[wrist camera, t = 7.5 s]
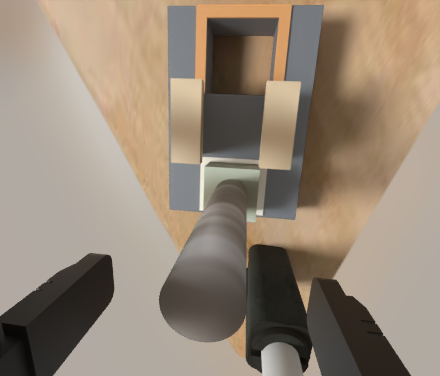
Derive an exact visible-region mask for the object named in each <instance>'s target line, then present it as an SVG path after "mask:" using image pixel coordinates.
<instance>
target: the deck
mask: <svg viewBox="0 0 440 376" xmlns="http://www.w3.org/2000/svg"><path fill="white" fill-rule="evenodd" d="M323 9H324V5H292V4H231V5H196V6H168V89H169V196H170V209H171V210H183V211H195V212H203V200H204V166H206V165H207V164H208V163H209V162H210V161H212V162H228V163H245V164H258V165H259V157H260V146H261V134H262V123H263V111H264V100H265V96H263V95H232V94H211V90H212V60H213V35H225V36H274V40H273V51H272V62H271V73H270V81H298V82H301V87H300V95H299V103H298V112H297V120H296V128H295V136H294V144H293V152H292V160H291V169H290V170H281V169H265V168H260V176H259V188H258V199H257V210H256V217H267V218H279V219H291V220H295V216H296V209H297V201H298V194H299V187H300V179H301V172H302V164H303V157H304V150H305V142H306V135H307V127H308V120H309V113H310V105H311V98H312V90H313V83H314V76H315V68H316V61H317V53H318V46H319V39H320V31H321V24H322V16H323ZM170 78H183V79H202V80H203V81H204V114H203V152H202V163H201V164H185V163H171V86H170Z"/></svg>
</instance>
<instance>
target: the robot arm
mask: <svg viewBox="0 0 440 376" xmlns="http://www.w3.org/2000/svg"><path fill="white" fill-rule="evenodd" d="M113 293H114V279H113V267H112V258H111V256H110V255H104V254H95V253H89V254H88V255H86V256H85V257H84V258H82V259H81V260H80V261H79V262H77V263H76V264H74V265H71V266H69V267H67V268H65V269H63V270H61V271H59V272H58V273H56V274H55V275H54V276H53V277H51V278H50V279H49V280H48V281H47V282H46V283H44V284H42V285H41V286H39V287H38V288H37V289H36V291H33V292H32V293H30V294H29V295H28V296H26V297H25V298H24V299H23V300H21V301H20V302H18V303H17V304H16V305H15V306H13V307H12V308H10V309H9V310H8V311H6V312H5V313H4V314H3V315H1V316H0V376H53V375H54V374H55V372H56V371H57V370H58V368H59V367H60V366H61V365H62V363H63V362H64V361H65V360H66V358H67V357H68V356H69V354H70V353H71V352H72V350H73V349H74V348H75V347H76V346H77V344H78V343H79V342H80V340H81V339H82V338H83V337H84V335H85V334H86V333H87V332H88V330H89V329H90V328H91V326H92V325H93V324H94V323H95V321H96V320H97V319H98V318H99V316H100V315H101V314H102V312H103V311H104V310H105V309H106V307H107V306H108V305H109V303H110V302H111V299H112V297H113ZM307 327H308V331H309V335H310V338H311V341H312V345H313V348H314V351H315V354H316V358H317V361H318V365H319V368H320V371H321V375H322V376H411V375H410V374H409V372H408V370H407V369H406V368H405V366H404V365H403V363H402V361H401V360H400V359H399V357H398V355H397V354H396V353H395V351H394V349H393V348H392V346H391V345H390V343H389V342H388V340H387V339H386V337H385V336H383V333H382V332H381V330H380V328H379V327H378V325H377V324H375V321H374V319H373V318H372V316H371V315H370V313H369V311H368V310H367V308H366V307H364V306H363V305H362V304H361V303H360V302H359V301H358V300H356V299H355V298H354V297H353V296H346V295H345V293H344V291H343V290H342V288H341V286H340V285H339V283H338V282H337V280H333V279H324V278H314V279H313V281H312V285H311V291H310V297H309V303H308V309H307Z"/></svg>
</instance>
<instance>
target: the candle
mask: <svg viewBox="0 0 440 376" xmlns="http://www.w3.org/2000/svg"><path fill="white" fill-rule="evenodd" d="M312 346H313V345H312V341H311V338H310V335H309V331H308V327H307V314H306V311H305V307H304V304H303V301H302V298H301V295H300V292H299V289H298V286H297V283H296V280H295V277H294V273H293V270H292V267H291V264H290V261H289V258H288V255H287V252H286V251H285V250H284V249H283V248H280V247H273V246H265V245H253V246H252V247H250V249H249V263H248V268H246V360H247V363H248V364H249V365H250V366H251V367H253V368H255V369H257V370H258V371H259V372H261V373H262V376H303V373H304V372H305V371H306V369H307V368H308V362H309V359H310V354H311V350H312Z"/></svg>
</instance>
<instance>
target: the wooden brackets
mask: <svg viewBox="0 0 440 376" xmlns="http://www.w3.org/2000/svg"><path fill="white" fill-rule="evenodd" d="M170 86H171V163H185V164H201V163H202V152H203V114H204V81H203V80H202V79H183V78H170ZM300 87H301V82H298V81H267V82H266V89H265V100H264V111H263V123H262V134H261V146H260V157H259V168H265V169H281V170H290V169H291V160H292V152H293V144H294V136H295V128H296V120H297V112H298V103H299V95H300Z"/></svg>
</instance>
